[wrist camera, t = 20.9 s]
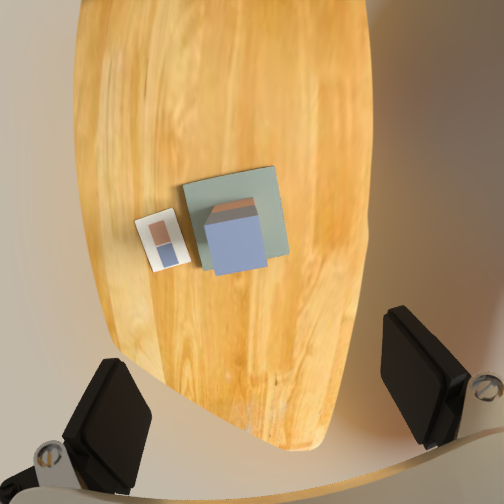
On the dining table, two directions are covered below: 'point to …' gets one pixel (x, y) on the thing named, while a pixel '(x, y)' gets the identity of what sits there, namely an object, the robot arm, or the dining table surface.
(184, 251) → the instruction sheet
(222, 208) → the brick
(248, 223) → the brick
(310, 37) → the dining table surface
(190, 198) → the baseplate
